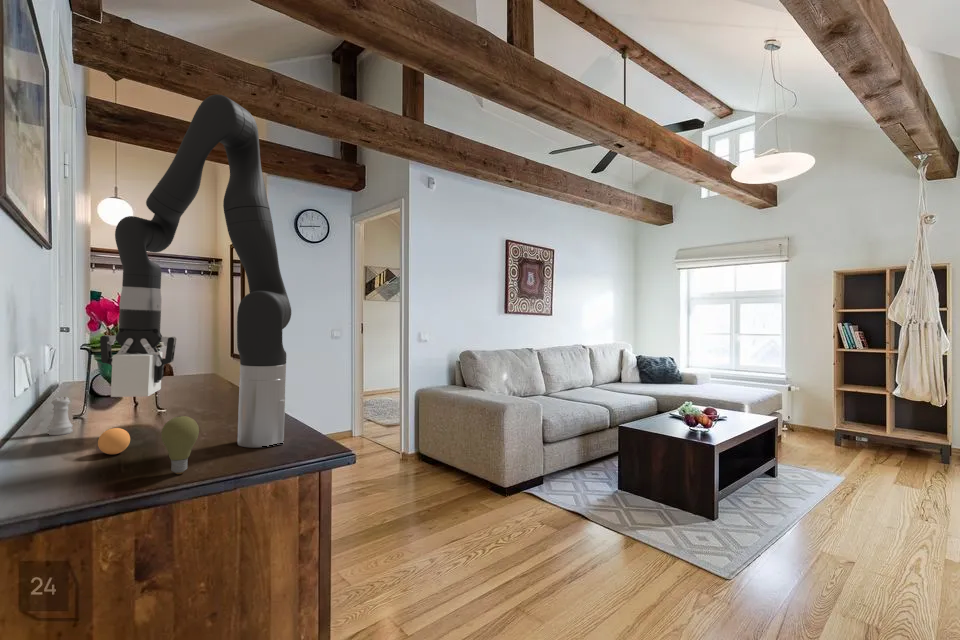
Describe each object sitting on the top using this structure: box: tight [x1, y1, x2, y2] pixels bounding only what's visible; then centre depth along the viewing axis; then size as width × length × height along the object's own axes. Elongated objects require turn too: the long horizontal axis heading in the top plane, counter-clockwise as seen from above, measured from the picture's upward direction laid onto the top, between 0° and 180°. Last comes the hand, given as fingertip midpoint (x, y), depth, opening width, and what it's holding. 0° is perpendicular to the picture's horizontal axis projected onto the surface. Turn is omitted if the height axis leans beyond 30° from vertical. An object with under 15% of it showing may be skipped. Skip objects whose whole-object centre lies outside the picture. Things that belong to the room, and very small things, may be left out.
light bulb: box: [160, 415, 200, 475], centre depth 83 cm, size 6×6×10 cm
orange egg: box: [97, 427, 131, 455], centre depth 92 cm, size 5×5×5 cm
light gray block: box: [110, 351, 163, 398], centre depth 106 cm, size 7×11×9 cm, turn 22°
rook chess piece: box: [46, 396, 74, 436], centre depth 106 cm, size 4×4×8 cm
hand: (137, 382), depth 106 cm, fingers closed on light gray block, 6 cm apart
